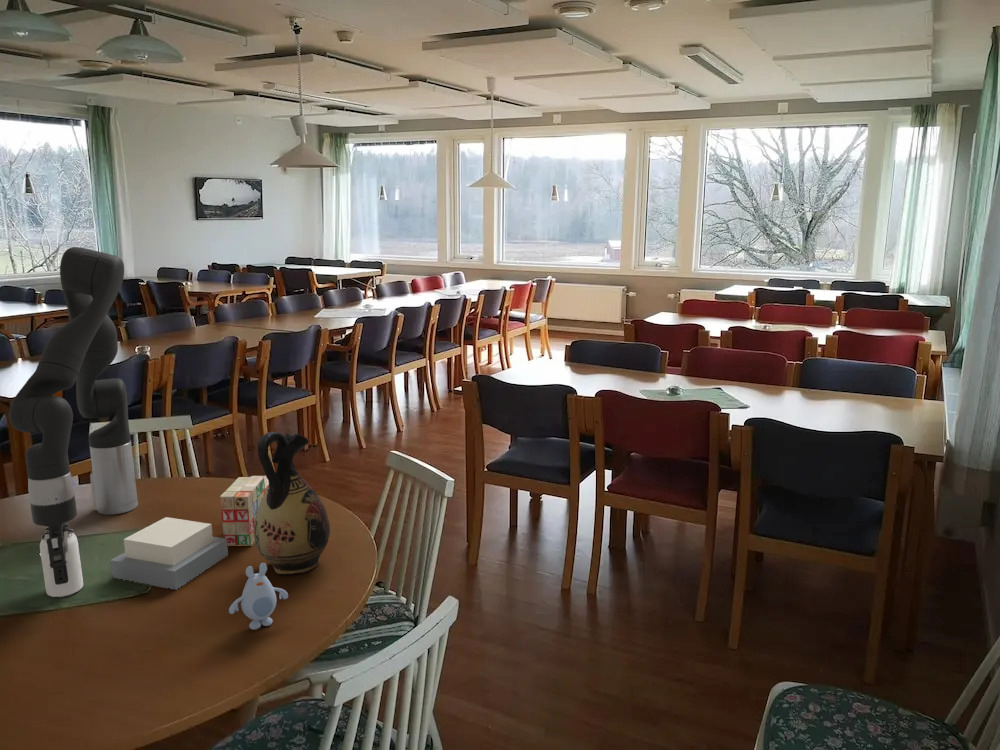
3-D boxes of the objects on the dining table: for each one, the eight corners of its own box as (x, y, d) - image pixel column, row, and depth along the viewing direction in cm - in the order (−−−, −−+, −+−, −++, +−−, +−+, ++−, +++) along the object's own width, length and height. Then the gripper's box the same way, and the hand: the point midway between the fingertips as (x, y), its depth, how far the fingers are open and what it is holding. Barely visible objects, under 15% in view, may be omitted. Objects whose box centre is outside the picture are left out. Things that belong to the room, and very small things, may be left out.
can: (88, 589, 153) (81, 533, 150) (52, 601, 148) (44, 544, 146) (76, 579, 157) (69, 524, 155) (41, 590, 153) (33, 534, 150)
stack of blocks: (254, 510, 193) (251, 463, 190) (279, 510, 193) (276, 463, 190) (223, 547, 172) (219, 495, 169) (251, 547, 172) (247, 495, 169)
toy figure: (235, 642, 134) (230, 579, 132) (226, 626, 139) (221, 565, 137) (295, 624, 140) (291, 563, 137) (284, 609, 145) (280, 551, 142)
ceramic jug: (294, 543, 173) (285, 415, 167) (346, 558, 166) (339, 425, 159) (234, 574, 159) (222, 435, 153) (288, 592, 152) (279, 447, 145)
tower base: (112, 578, 158) (108, 541, 156) (168, 545, 172) (165, 512, 171) (176, 590, 153) (172, 552, 151) (228, 555, 167) (225, 521, 166)
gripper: (72, 505, 144) (83, 586, 147) (75, 481, 156) (85, 556, 160) (26, 512, 140) (38, 595, 144) (32, 487, 153) (43, 564, 157)
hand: (63, 574), depth 152 cm, fingers open, 7 cm apart
